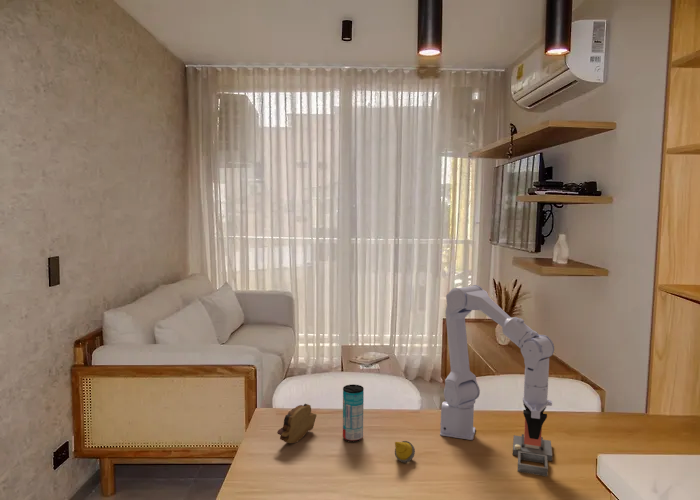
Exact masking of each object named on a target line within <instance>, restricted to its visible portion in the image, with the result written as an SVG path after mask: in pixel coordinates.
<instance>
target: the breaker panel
mask: <svg viewBox="0 0 700 500" xmlns="http://www.w3.org/2000/svg"><path fill="white" fill-rule="evenodd" d="M512 444H513V445H512V455H513V456H517V457H518V451H521V452H528V453H534V454H540V455H547V462H549V461H551V462H552V461H553V450H552V449H553V448H552V441H551V440H546V439H544V438H543V436H541V446H539V449H535V448H528V447H525V444H524V434H523V433H521V435H513V443H512Z"/></svg>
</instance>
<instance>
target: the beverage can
mask: <svg viewBox="0 0 700 500" xmlns="http://www.w3.org/2000/svg"><path fill="white" fill-rule="evenodd" d="M364 389H365V388H364V386H362V385H360V384H347V385H344V386H343V387H342V438H343V440H344V439H345V440H344V441H346V442H348V441H349V442H348V443H358V442H360V441H362V440H363V437H364V397H365V396H364ZM361 439H362V440H361Z"/></svg>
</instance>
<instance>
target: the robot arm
mask: <svg viewBox="0 0 700 500" xmlns="http://www.w3.org/2000/svg"><path fill="white" fill-rule="evenodd" d="M445 297H446V307H445V325H446V333H447V334H446V335H447V345H448V354H449V355H448V356H449V365H450V372H449V374H448V375H447V377H446V378H445V380H444V389H443V397H444V400H445V401H442V403H441V410H440V433H439V435H440V436H442V437H443V436H444V437H449V438H456V439H461V440H462V439H464V440H469V441H473V440H474V437H475V433H476V427H475V426H474V417H475V416H474V413H475V405H476V400H477V399H479V397H480V393H481V389H480V386H479V384H478V382H477V376H476V375H475V374H474V373H473V372H472V371H471V369H470V358H469V356H470V355H469V348H468V347H469V346H468V336H467V326H466V317H467V316H468V315H469V314H470V313H471V312H472V311H480V312H482V313H483V314H484V315H486V316H487V317H489V318H490V319H491V320H492V321H493V322H495V323H497V325H499V326H500V327H501V330H502V334H503V335H504V336H505V337H507V338H508V339H509V340H510V341H511V342H512V343H513V344H515V345H516V346H517V347H518V348H519V349H520V353H521V355H522V358H523V360H524V361H523V362H524V381H523V382H524V383H523V397H522V403H523V407H524V408H525V409H523V413H522V414H523V417H524V420H525V419H526V421H527V425H528V432H529V437H530V438H531V439H538V438H539V436H540V432H541V428H542V429H543V424H544V423H545V421H546V420H547V418H548V414H547V413H544V412H545V410H546V409H547V407H548V406H549V407H551V406H553V401H552V400H550V399H548V397H549V396H548V393H549V392H548V391H549V376H550V375H549V373H550V372H549V370H550V357H552V356H553V354H554V353H555V345H554V343H553V341H552V339H551V338H550V337H549V336H548V335H545V334H539V333H538V332H537V331H536V330H533V329H532V328H531V327H530V326H529V325H527V324H526V323H525V320H524V318H521V317H517V316H514V317H511V316H510V315H509V314H508V313H507V312H505V310H503V309H502V307H500V305H498V304H497V303H496V302H495V301H494V300H493V299H492V298H491V297H490V296H489V294H488V291H487V290H485V289H483V287H482V286H480V285H477V284H474V285H470V286H464V287H454V288H452V289H450V290H449V292H448V293H447V294H446V295H445Z"/></svg>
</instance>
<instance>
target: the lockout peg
mask: <svg viewBox="0 0 700 500" xmlns="http://www.w3.org/2000/svg"><path fill="white" fill-rule="evenodd" d="M542 429H543V427H542V428H541V432H540V436H539V438H538V439H531V438H530V437H529V432H528V425H527V421H526V419H525V418H524V444H528V445H534V446H541V437H542V433H543V432H542Z"/></svg>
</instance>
